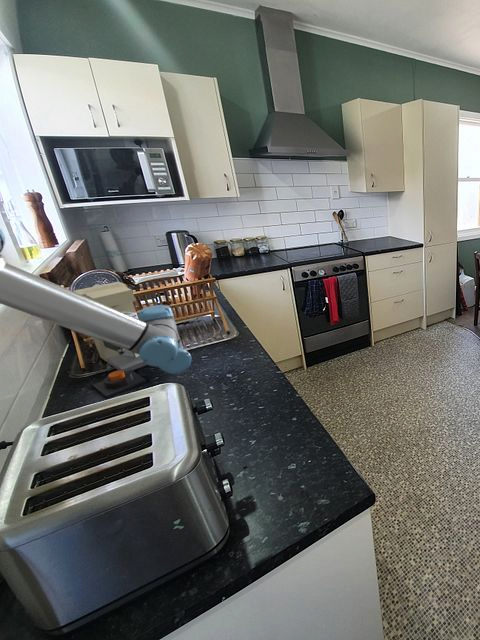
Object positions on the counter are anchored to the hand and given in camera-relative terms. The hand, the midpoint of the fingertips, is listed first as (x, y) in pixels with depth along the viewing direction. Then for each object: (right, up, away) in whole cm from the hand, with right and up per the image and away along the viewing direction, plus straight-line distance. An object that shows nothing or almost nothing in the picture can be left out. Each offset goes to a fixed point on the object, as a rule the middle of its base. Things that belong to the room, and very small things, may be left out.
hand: (121, 328), depth 117 cm
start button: (+9, -15, -11) cm, 20 cm away
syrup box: (+4, -9, +1) cm, 10 cm away
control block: (+9, -17, -10) cm, 22 cm away
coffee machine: (0, -11, +4) cm, 11 cm away
